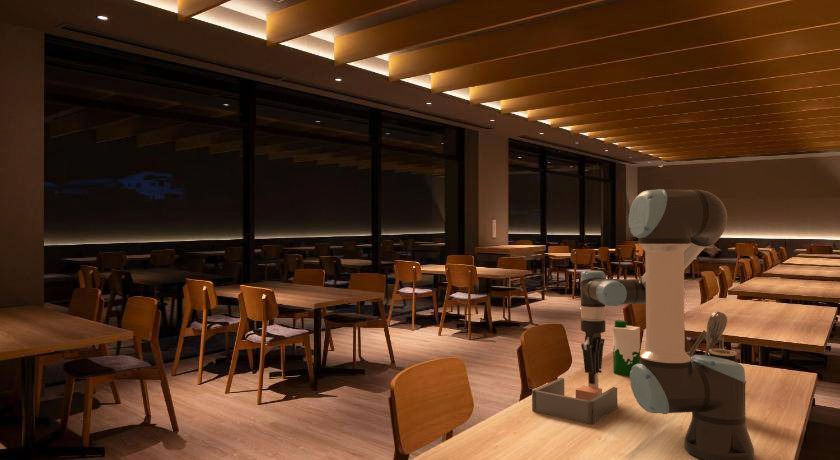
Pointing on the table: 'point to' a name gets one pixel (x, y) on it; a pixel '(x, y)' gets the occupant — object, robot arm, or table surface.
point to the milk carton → (625, 347)
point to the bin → (572, 403)
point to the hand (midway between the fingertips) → (593, 393)
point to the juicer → (712, 332)
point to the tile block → (587, 392)
